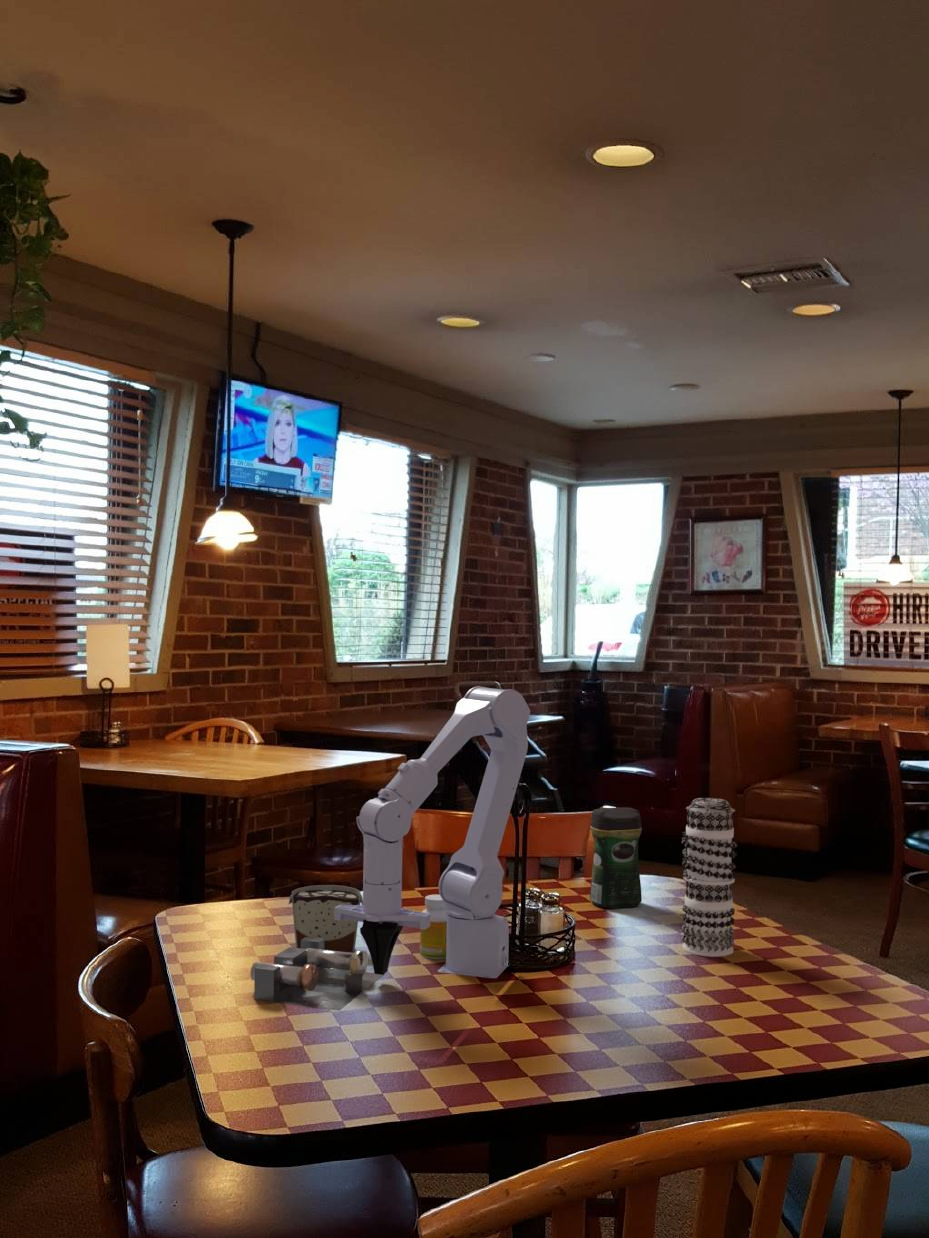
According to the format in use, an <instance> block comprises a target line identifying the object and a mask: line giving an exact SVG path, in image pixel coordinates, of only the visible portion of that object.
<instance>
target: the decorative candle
mask: <svg viewBox="0 0 929 1238" xmlns="http://www.w3.org/2000/svg"><path fill="white" fill-rule="evenodd" d="M685 809H686V810H687V811H686V814H687V815H686V826H685V831H682V832H681V833H682V834H681V835H683V837H682V838H681V844H682V845H684V847H685V848H684V849H683V850H682V857H683V858H682V862H681V864H682V866H683V867H684V868H685V869H684V870H683V872H682V878H683V880H685V895H684V905H683V906H682V912H684V914H683V915H682V918H681V919H682V921H684V923H683V924H682V926H681V931H682V932H683V934H682V936H681V940H682V942H683V943H682V950H683V951H685V952H686V953H688V954H691V955H696V956H700V957H710V958H716V957H717V958H718V957H720V958H721V957H726V956H730V955H732V954H734V947H733V945H734V944H735V938H733V936H734V935H735V931H736V930H735V929H734V928H733V926H732V925H734V924H735V918H734V917H733V916H734V915H735V912H736V911H735V909H734V908H733V896H732V893H733V891H732V890H733V887H732V886H733V885H732V884H733V883H735V878H736V877H737V876H736V873H734V872H733V870H734V869H736V868H737V865H736V864H735V863H734V862H733V861H732V859H734V858H736V857H737V856H738V852H736V851H735V850H734V849H735V848H737V847H738V843H737V842H736V841H734V840H732V839H733V838H734V834H735V832H734V831H735V829H734V824H733V823H734V819H733V818H734V816H733V815H734V812H736V809H735V808H732V807H731V804H730V803H729V801H727V800H725V799H722V798H718V797H716V798H715V797H698V798H695V799H693V800H692V801H691V803H690V805H689V806H686V807H685Z"/></svg>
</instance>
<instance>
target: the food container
mask: <svg viewBox="0 0 929 1238" xmlns="http://www.w3.org/2000/svg"><path fill="white" fill-rule="evenodd" d="M290 904H291V905H292V914H293V915H292V916H293V926H294V939H295V948H301V940H302V939H304V938H305V937H313V938H322V939H324V950H331V951H340V952H349V953H354V952H355V951H356V950H355V949H356V944H357V943H356V941H357V933H358V924H359V921H349V920H341V921H336V920H334V908H335V907H337V906H338V905H363V894H361V891H360V890H359V889H357V888H355V887H350V886H346V885H337V884H336V885H335V884H326V885H324V884H322V885H321V884H319V885H309V886H304V887H299V888H296V889H294V890H292V891H291V895H290V896H289V900H288V905H290Z"/></svg>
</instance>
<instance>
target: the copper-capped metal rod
mask: <svg viewBox="0 0 929 1238" xmlns="http://www.w3.org/2000/svg"><path fill="white" fill-rule="evenodd" d="M261 964H265V965H273V966H280V984H287V985H295V986H300V987H301V989H302V990H306V991H313V990H314V989H315V987H316V984H317V981H318V968H317V966H316V965H311V964H305V965H304V967H297V966H288V965H279V964H274V963H271V962H270V963H269V962H261V961H260V962H259V961H254V963H252V965H251V967H250V968H251V969H250V978H251V980H252V981H254V982H255V968H256V967H257V966H259V965H261Z"/></svg>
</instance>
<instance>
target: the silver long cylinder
mask: <svg viewBox="0 0 929 1238" xmlns="http://www.w3.org/2000/svg"><path fill="white" fill-rule="evenodd" d="M307 949H308V951H307V964H311V965H316V966H317V967H321V968H329V969H338V970H347V971H350V959H357V971H360V972H362V973H363V974H362V976H363V975H364V974H365V972H367V968H368V963H369V955H368V952H367V951H366V950H363V949H362V950H361V949H356V950H355V951H354V953H352V952H340V951H331V950H322V949H313V948H307Z"/></svg>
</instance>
